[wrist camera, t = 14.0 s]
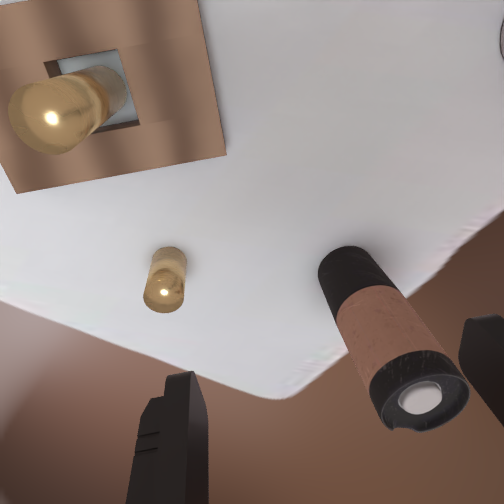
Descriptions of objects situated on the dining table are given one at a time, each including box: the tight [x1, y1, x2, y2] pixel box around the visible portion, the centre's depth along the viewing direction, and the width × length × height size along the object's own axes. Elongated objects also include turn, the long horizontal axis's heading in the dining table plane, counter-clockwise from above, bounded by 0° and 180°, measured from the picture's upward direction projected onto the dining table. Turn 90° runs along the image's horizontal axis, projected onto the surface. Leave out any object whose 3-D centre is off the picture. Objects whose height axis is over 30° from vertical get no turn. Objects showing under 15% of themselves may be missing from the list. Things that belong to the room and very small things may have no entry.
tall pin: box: [8, 66, 127, 155], centre depth 27 cm, size 4×4×14 cm
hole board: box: [0, 0, 227, 194], centre depth 32 cm, size 20×14×3 cm
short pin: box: [143, 247, 187, 313], centre depth 40 cm, size 4×4×7 cm
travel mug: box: [318, 246, 470, 433], centre depth 38 cm, size 8×8×20 cm
